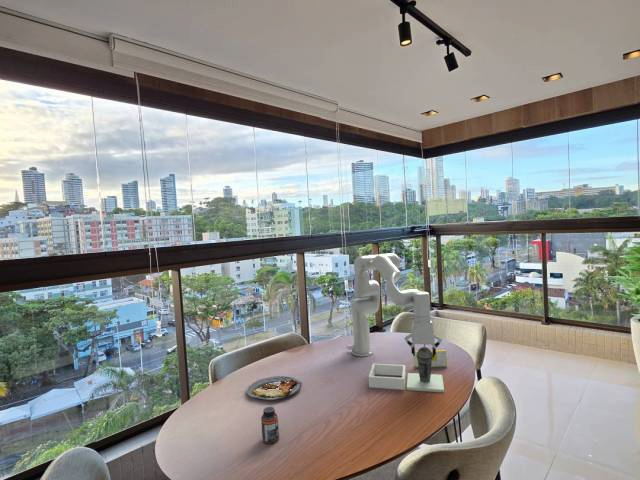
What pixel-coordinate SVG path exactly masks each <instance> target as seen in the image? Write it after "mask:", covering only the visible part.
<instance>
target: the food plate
mask: <svg viewBox="0 0 640 480" xmlns="http://www.w3.org/2000/svg"><path fill="white" fill-rule="evenodd" d="M279 381H280V382H281V383H280V385H279V386H277V385H278V384H277V385H274V384H273V383H274V382H279ZM285 381H286V382H285ZM287 382H289V383H287ZM269 383H272V384H269ZM266 384H267V385H266ZM260 387H261V388H260ZM278 387H279V390H282V391H279V390H266V389H263V388H267V389H276V388H278ZM259 388H260V389H259ZM301 388H302V382H301V381H300V380H299V379H298V378H297V379H296V378H295V377H290V376H283V375H274V376H268V377H264V378H260V379H258V380H255V381H254V382H252V383H251V384H250V385H249V386H247V388H246V394H247V395H248V396H250V397H251V398H256V399H262V400H268V401H277V400H280V399H285V398H288V397H291V396H292V395H294V394H296V393H297V392H298V391H300V390H301ZM290 389H292V390H291V391H290Z"/></svg>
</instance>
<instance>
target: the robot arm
mask: <svg viewBox="0 0 640 480" xmlns="http://www.w3.org/2000/svg"><path fill="white" fill-rule="evenodd" d="M400 264H401V262H400V257H399V256H398V255H397V254H396V253H394V252H389V253H388V252H387V253H380V254H379V253H378V254H370V255H369V254H367V255H366V254H365V255H360V256H359V257H358V256H357V258H355V259H354V262H353V270H354V271H353V272H354V283H353V284H354V285H353V293H354V297H355V298H357V299H355V300H353V301H352V302H351V303H350V306H349V308H350V312H351V318H352V320H351V321H352V330H353V332H352V335H353V336H352V337H353V344H347V345H346V349H347V350H351V354H352V355H353V356H356V357H368V356H372V355H373V354H374V350H373V349H372V348H371V333H370V322H369V319H368V318H367V317H366V316H368V315H373V314H376V313H378V311H379V309H380V301H381V300H380V299H381V285H380V284H379V282H378V281H377V280H374V279H372V280H371V278H370V276H371V275H370V273H369V272H370V271H376V270H377V271H378V273H379V274H380V275H381V276H382V278H383V279H384V280H385V282H386V283H385V291H386V294H387V296H388V298H389V299H390V300H391V302H392V303H393V304H394V305H395V306H397V307H398V308H404V307H409V306H413V310H412V311H413V315H410V319H411V320H412V322H411V333H409V334H408V335H406V336H405V337H404V340H405V342H406V343H407V345H408V346H409V347H410V349H411V354H412V355H413V357H414V356H415V351H416V349H415V348H416V346H415V345H424V344H425V345H430V346H432V350H431V351H433V357H434V355H436V350H437V348H438V347H439V345H440V344H441V343H442V342H443V339H442V338H441V337H440V336H439V335H437V334H436V333H435V328H434V323H433V321H432V320H431V318H432V317H431V299H430V296H431V295H430V293H429V292H427V291H421V290H420V289H417V288H410V289H405V290H404V289H403V290H400V289H398V287H397V286H396V284H395V283H397V282H398V281H399V279H401V275H402V273H401V271H400V270H399V268H398V267H399V266H400ZM409 339H411V341H410V340H409ZM435 340H437V341H435Z"/></svg>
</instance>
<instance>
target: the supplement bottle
mask: <svg viewBox="0 0 640 480" xmlns="http://www.w3.org/2000/svg"><path fill="white" fill-rule="evenodd" d="M260 419H261V422H260V423H261V435H262V436H261V438H262V442H263V443H264V444H267V445H271V444H275V443H277V442H278V441H279V439H280V430H279V416H278V414H277V412H276V410H275V407H274V406H267V407H265V408H263V413H262V415H261V417H260Z"/></svg>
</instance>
